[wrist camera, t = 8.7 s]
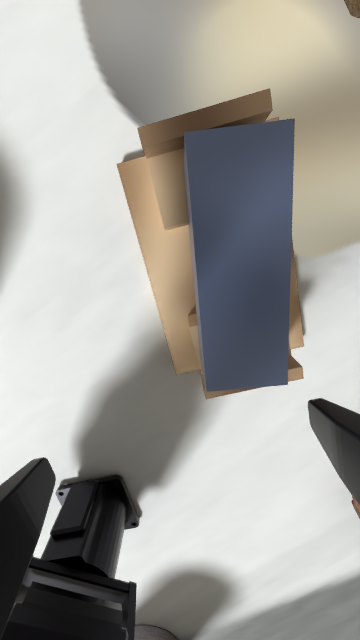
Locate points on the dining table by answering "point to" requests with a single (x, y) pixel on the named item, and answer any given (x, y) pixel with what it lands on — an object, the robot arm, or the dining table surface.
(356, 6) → the stone cup
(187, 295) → the display cradle
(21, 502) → the robot arm
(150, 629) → the pillar candle
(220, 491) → the dining table surface
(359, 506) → the pottery mug
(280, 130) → the tall slate-blue box
